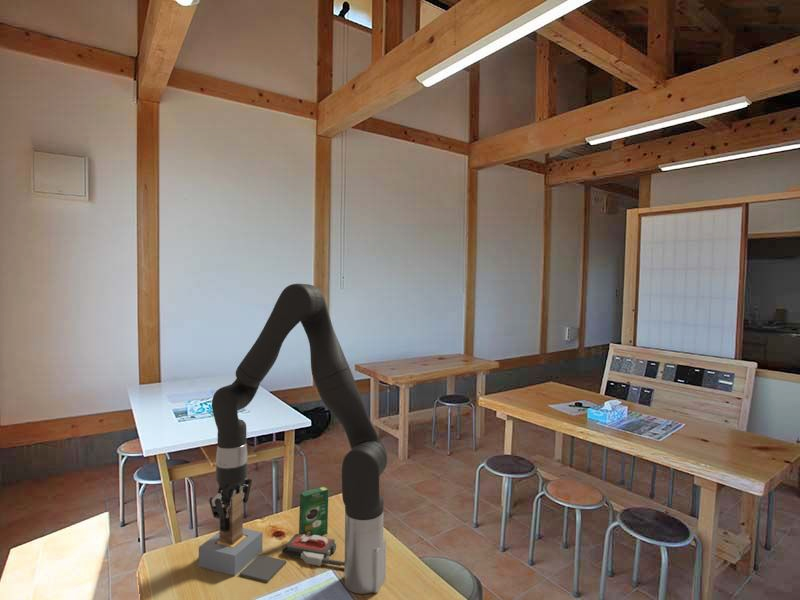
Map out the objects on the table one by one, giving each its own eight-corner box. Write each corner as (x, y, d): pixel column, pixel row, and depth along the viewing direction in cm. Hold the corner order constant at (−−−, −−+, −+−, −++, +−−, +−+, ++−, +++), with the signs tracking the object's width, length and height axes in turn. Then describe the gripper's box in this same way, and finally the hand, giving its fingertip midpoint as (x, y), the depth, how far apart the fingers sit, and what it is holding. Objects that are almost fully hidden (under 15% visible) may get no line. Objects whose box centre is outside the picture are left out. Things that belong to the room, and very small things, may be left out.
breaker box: (262, 550, 117) (262, 532, 117) (234, 575, 107) (235, 555, 107) (228, 542, 121) (228, 524, 120) (198, 566, 110) (198, 546, 110)
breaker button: (246, 550, 115) (246, 535, 115) (233, 562, 110) (233, 546, 110) (230, 547, 117) (230, 532, 117) (216, 558, 112) (216, 542, 112)
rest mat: (286, 563, 112) (286, 560, 112) (267, 582, 104) (267, 580, 104) (259, 556, 114) (259, 554, 114) (239, 575, 107) (239, 573, 107)
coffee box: (324, 528, 128) (324, 484, 128) (328, 533, 126) (329, 488, 126) (298, 538, 123) (298, 492, 123) (302, 542, 121) (303, 496, 121)
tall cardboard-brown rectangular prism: (242, 536, 115) (242, 491, 115) (232, 544, 111) (232, 497, 111) (230, 533, 116) (230, 488, 116) (219, 541, 112) (219, 495, 112)
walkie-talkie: (277, 560, 114) (350, 573, 109) (277, 543, 113) (350, 555, 109) (293, 542, 122) (361, 553, 117) (293, 526, 122) (361, 536, 117)
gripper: (224, 474, 105) (224, 544, 106) (261, 453, 119) (260, 515, 119) (199, 469, 108) (199, 538, 108) (238, 449, 121) (237, 511, 121)
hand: (231, 526), depth 113 cm, fingers closed on tall cardboard-brown rectangular prism, 4 cm apart
